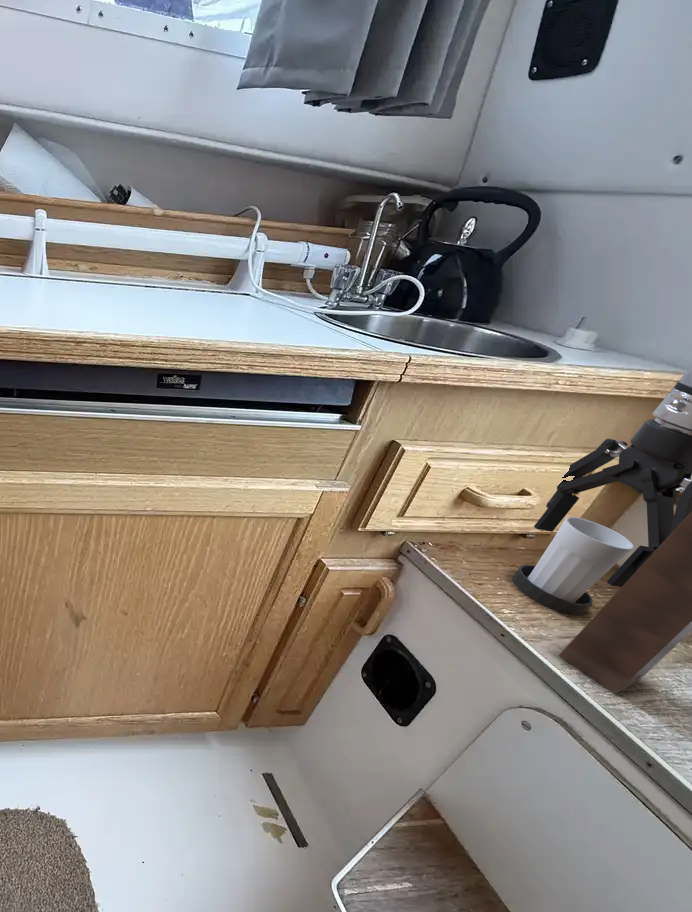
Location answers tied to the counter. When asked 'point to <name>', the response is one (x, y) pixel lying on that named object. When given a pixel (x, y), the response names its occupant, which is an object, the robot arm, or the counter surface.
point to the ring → (548, 598)
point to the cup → (578, 558)
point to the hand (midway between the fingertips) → (577, 555)
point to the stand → (640, 617)
